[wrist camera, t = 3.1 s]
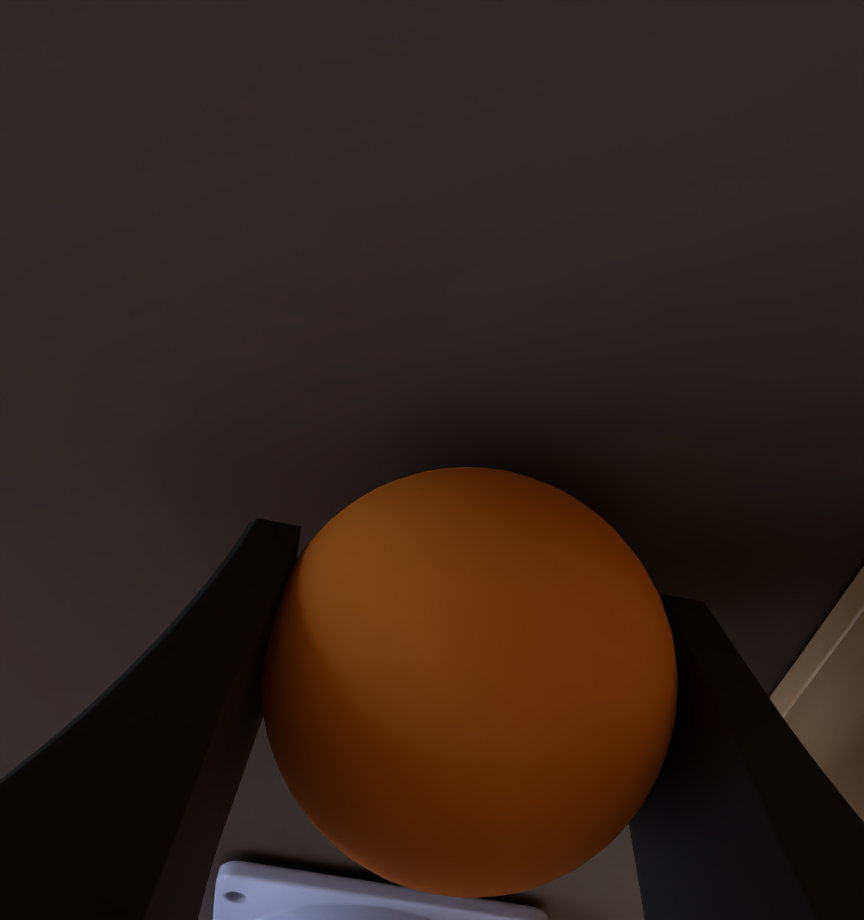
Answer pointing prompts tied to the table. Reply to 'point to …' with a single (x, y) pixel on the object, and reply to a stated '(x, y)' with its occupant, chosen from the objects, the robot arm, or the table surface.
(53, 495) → the table surface
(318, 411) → the table surface
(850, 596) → the tray
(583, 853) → the clementine
